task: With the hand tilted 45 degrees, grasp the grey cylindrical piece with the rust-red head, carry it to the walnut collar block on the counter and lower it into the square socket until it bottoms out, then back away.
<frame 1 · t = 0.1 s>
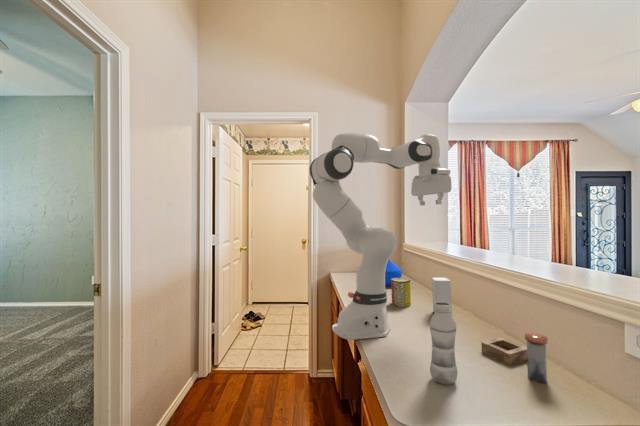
hand: (430, 204, 125), 48 cm above the table, tool pointing down, fingers open, 8 cm apart
beverage can: (401, 304, 142), on the table
skincare box: (441, 315, 126), on the table
vase: (387, 284, 185), on the table
plastic bottle: (443, 381, 75), on the table
collar: (505, 355, 89), on the table
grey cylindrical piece: (537, 378, 76), on the table
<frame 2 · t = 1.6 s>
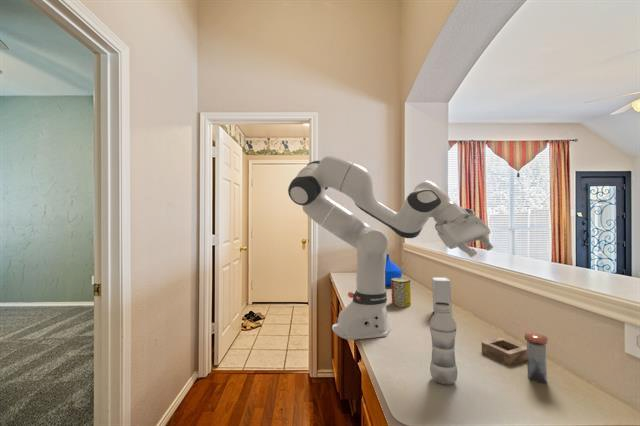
hand: (482, 252, 89), 32 cm above the table, tool tilted 40°, fingers open, 8 cm apart
nothing on the table moved.
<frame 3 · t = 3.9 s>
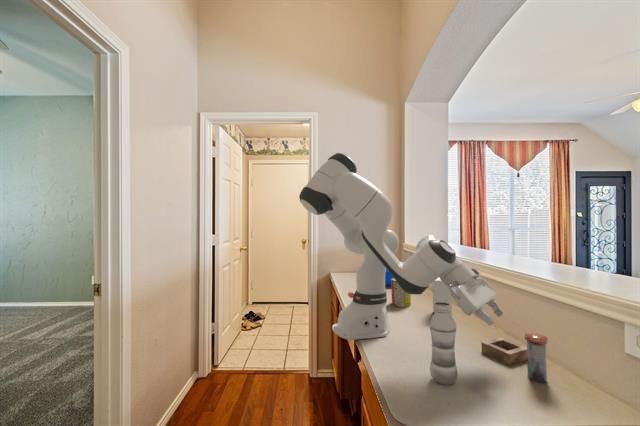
hand: (497, 319, 81), 14 cm above the table, tool tilted 45°, fingers open, 8 cm apart
nothing on the table moved.
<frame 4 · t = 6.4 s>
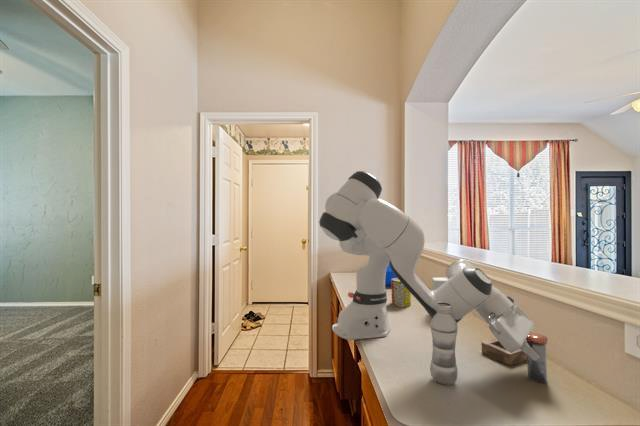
hand: (539, 354, 75), 6 cm above the table, tool tilted 45°, fingers closed on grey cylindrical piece, 4 cm apart
plastic bottle: (443, 381, 75), on the table, touching arm
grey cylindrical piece: (537, 378, 76), on the table, touching gripper
everything else where it was.
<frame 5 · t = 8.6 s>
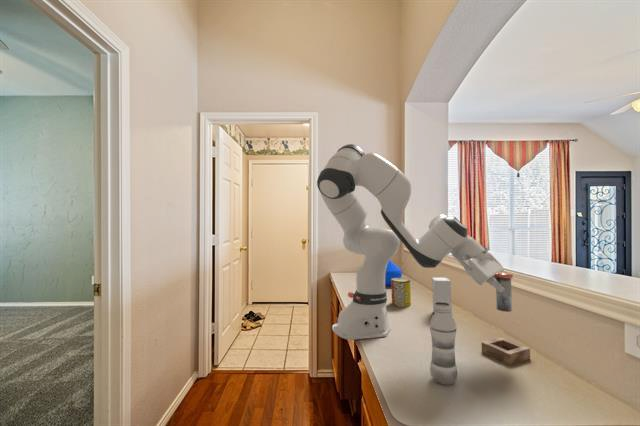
hand: (505, 289, 89), 20 cm above the table, tool tilted 45°, fingers closed on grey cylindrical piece, 4 cm apart
plastic bottle: (443, 381, 75), on the table
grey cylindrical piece: (504, 309, 89), point 14 cm above the table, touching gripper
everything else where it was.
when the fingers open (8 cm above the table, at t = 11.1 s): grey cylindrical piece drops 2 cm, resting in collar.
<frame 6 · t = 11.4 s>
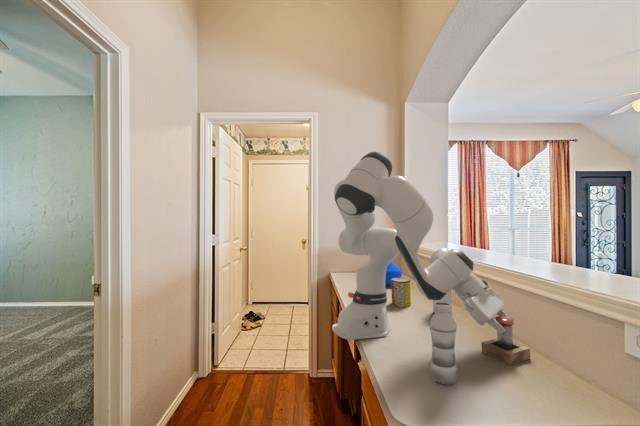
hand: (506, 328, 88), 8 cm above the table, tool tilted 45°, fingers open, 7 cm apart
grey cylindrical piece: (505, 355, 89), resting in collar
everything else where it was.
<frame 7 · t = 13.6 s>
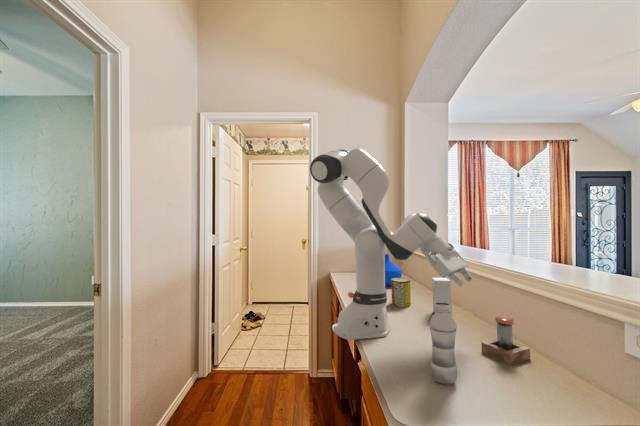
hand: (467, 282, 97), 20 cm above the table, tool tilted 45°, fingers open, 8 cm apart
nothing on the table moved.
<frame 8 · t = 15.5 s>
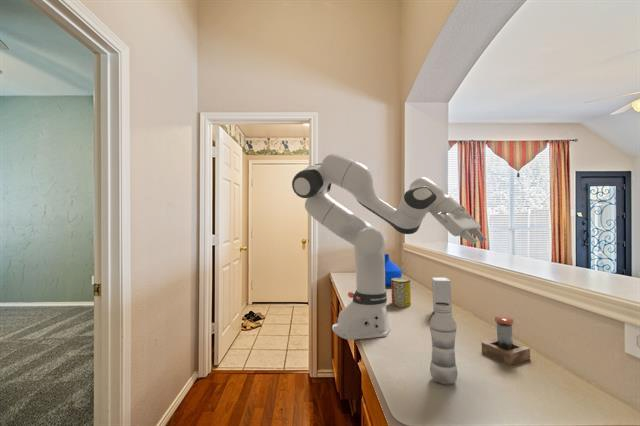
hand: (480, 242, 93), 34 cm above the table, tool tilted 45°, fingers open, 8 cm apart
nothing on the table moved.
at the end: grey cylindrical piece 0.0 cm off-centre on the collar, point 0.0 cm above the collar's base; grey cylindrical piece tilted 1°; the gripper is holding nothing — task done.
